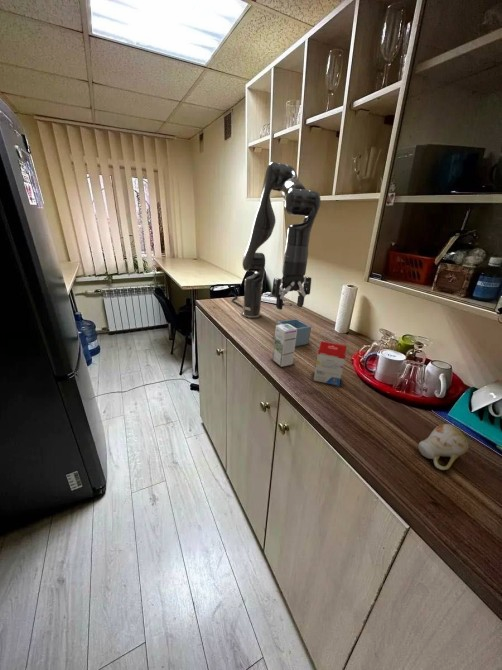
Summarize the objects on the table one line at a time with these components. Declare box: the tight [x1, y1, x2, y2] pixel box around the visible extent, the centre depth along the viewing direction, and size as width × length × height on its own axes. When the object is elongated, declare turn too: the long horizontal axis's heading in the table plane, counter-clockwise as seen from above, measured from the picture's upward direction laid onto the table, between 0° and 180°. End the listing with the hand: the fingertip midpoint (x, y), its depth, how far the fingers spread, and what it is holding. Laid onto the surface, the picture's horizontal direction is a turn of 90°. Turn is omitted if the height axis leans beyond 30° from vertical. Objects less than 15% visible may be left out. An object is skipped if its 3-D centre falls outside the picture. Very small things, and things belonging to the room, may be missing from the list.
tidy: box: [276, 318, 312, 347], centre depth 119 cm, size 11×11×8 cm
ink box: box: [313, 340, 348, 387], centre depth 90 cm, size 8×5×15 cm, turn 71°
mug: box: [418, 423, 469, 471], centre depth 64 cm, size 8×10×10 cm
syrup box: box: [272, 324, 297, 368], centre depth 99 cm, size 6×6×14 cm
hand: (289, 307), depth 94 cm, fingers open, 8 cm apart
